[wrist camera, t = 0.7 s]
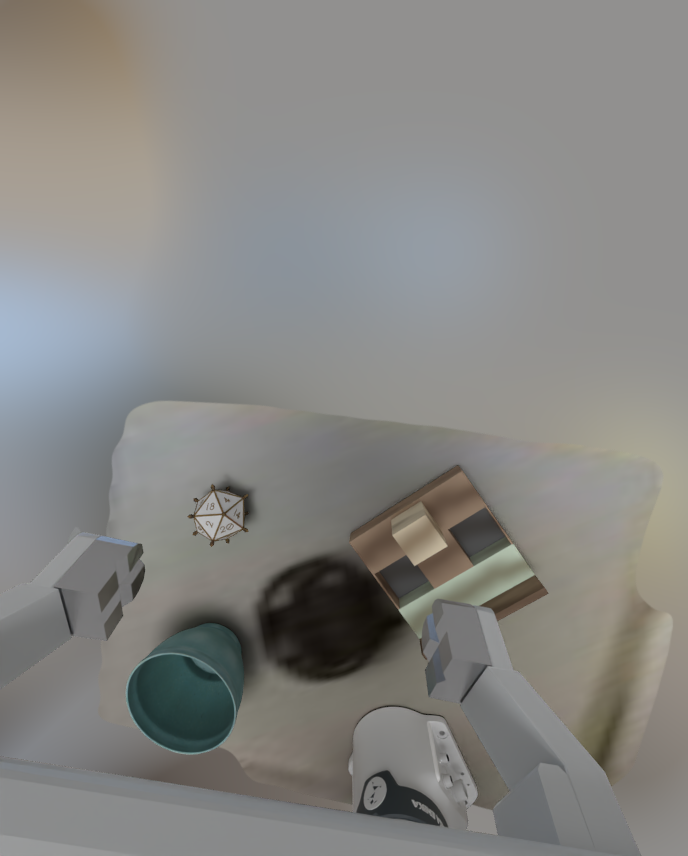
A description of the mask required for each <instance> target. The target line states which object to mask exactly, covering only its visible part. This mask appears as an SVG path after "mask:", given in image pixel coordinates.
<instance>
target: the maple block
mask: <svg viewBox="0 0 688 856" xmlns="http://www.w3.org/2000/svg"><path fill="white" fill-rule="evenodd" d="M391 524H392V536H393V537H394V538H395V540H396V541H397V543H398V544H399V545H400V547H401V548H402V549H403V551H404V552H405V554H406V555H407V556H408V558H409V559H410V561H411V562H412V563H413V565H414V566H415V565H417V564H419V563H420V562H422V561H424V560H426V559H427V558H429V557H431V556H432V555H434V554H436V553H437V552H439V551H441V550H442V549H444V548H446V547H447V543H446V541H445V538H444V535H443V533H442V530H441V528H440V527H439V526H438V524H437V523H436V521H435V520H434V519H433V517H432V516H431V514H430V513H429V512H428V510H427V509H426V507H425V506H424V505H423V503H422V502H421V501H420V502H419V503H417V504H416V505H414V506H412V507H411V508H409V509H408V510H406V511H404V512H403V513H401V514H400V515H398V516H396V517H395V518H393V519H392V520H391Z"/></svg>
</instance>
